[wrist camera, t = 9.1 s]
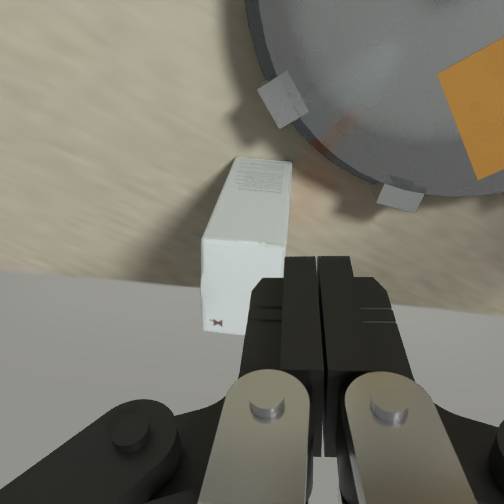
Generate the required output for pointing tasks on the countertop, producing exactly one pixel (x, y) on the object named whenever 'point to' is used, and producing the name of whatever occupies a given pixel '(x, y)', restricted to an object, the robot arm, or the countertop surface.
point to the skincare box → (244, 241)
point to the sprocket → (395, 89)
